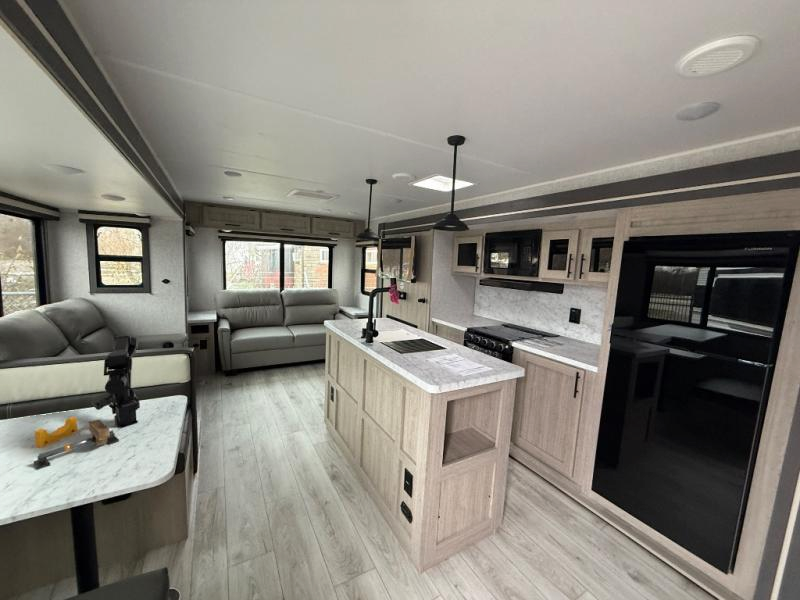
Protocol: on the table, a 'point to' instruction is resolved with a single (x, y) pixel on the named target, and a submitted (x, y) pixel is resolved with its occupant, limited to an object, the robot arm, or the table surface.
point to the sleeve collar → (99, 432)
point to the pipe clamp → (56, 433)
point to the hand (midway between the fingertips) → (121, 421)
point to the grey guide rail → (44, 461)
